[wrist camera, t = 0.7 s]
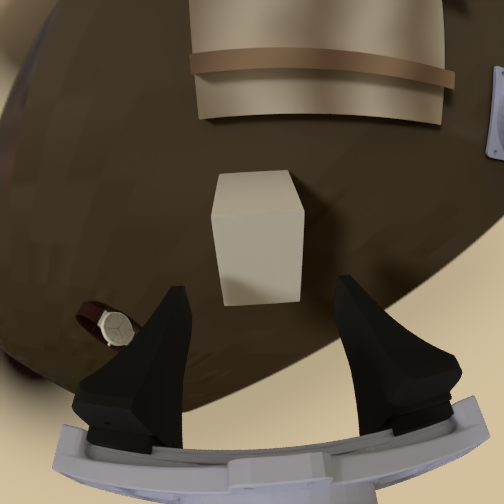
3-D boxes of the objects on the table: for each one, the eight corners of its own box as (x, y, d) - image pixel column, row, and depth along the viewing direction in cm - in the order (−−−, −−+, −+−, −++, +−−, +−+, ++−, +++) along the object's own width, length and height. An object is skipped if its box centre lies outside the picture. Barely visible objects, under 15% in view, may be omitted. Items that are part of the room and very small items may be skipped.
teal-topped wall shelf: (426, -47, 9) (462, -60, 5) (433, 121, 17) (471, 139, 13) (188, -72, 9) (174, -102, 5) (201, 116, 17) (188, 131, 13)
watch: (154, 333, 28) (147, 362, 25) (129, 348, 30) (121, 374, 27) (94, 288, 25) (81, 316, 22) (74, 307, 26) (61, 333, 23)
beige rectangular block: (287, 169, 19) (304, 211, 14) (287, 250, 23) (299, 307, 18) (219, 174, 19) (210, 217, 14) (228, 254, 23) (225, 311, 18)
